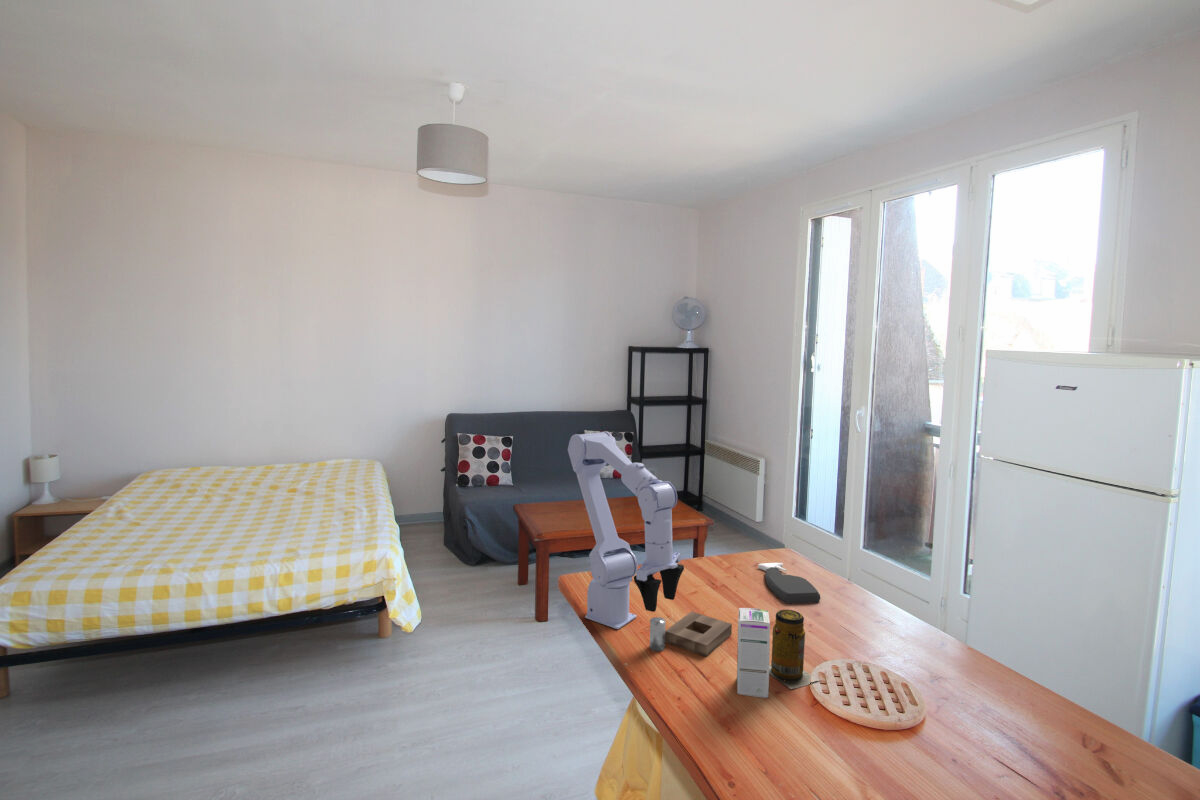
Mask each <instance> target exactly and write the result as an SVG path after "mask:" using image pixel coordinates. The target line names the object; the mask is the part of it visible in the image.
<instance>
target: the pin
mask: <svg viewBox="0 0 1200 800" xmlns="http://www.w3.org/2000/svg"><path fill="white" fill-rule="evenodd" d="M666 623H667V621H666V619H665V618H663V617H660V616H655V617H651V618H650V623H649V624H650V626H649V649H650V650H651V651H654V652H663V651H665V649H666V642H665V630H666Z"/></svg>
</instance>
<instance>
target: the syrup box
mask: <svg viewBox="0 0 1200 800" xmlns="http://www.w3.org/2000/svg"><path fill="white" fill-rule="evenodd" d="M769 613H770V611H769V610H767V609H761V608H753V607H739V608H738V617H737V619H738V620H737V621H738V622H737V654H736V655H737V657H736V658H737V659H736V661H737V664H736V666H737V667H736V668H737V669H736V689H737V690H736V693H737V695H741V696H749V697H754V698H755V697H756V698H763V699H768V698H769V689H770V688H769V683H770V674H769V665H770V655H771V654H770V646H771V644H770V643H771V641H770V640H771V639H770V636H771V632H770V631H771V624H770V623H771V621H770V614H769Z"/></svg>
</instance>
